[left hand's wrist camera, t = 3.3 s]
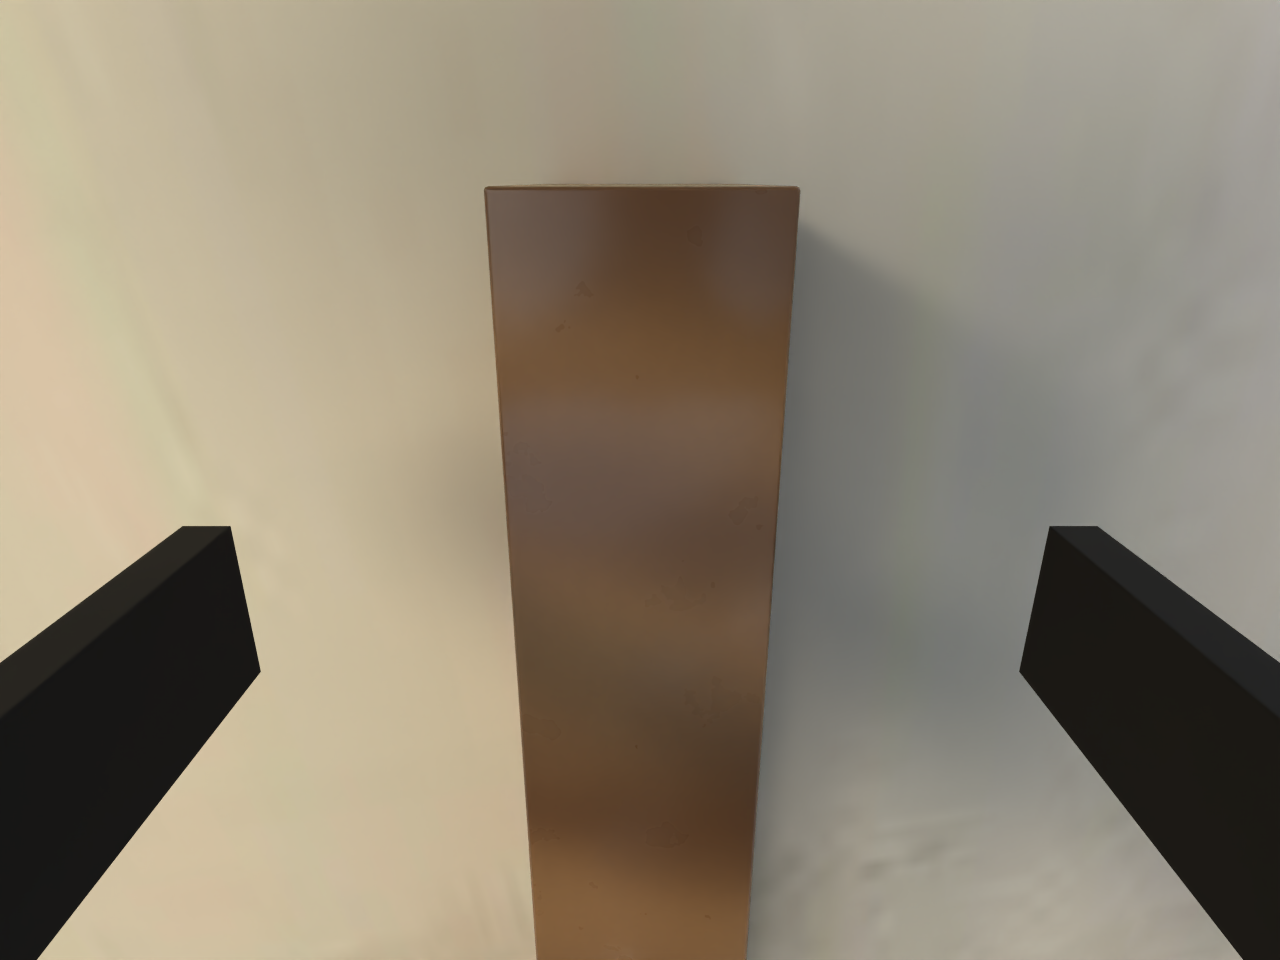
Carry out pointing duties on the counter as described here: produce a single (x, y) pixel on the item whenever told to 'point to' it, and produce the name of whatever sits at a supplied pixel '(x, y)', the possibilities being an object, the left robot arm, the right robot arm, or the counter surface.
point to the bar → (641, 545)
